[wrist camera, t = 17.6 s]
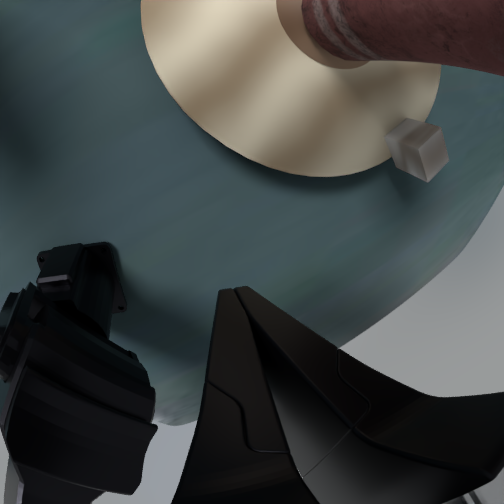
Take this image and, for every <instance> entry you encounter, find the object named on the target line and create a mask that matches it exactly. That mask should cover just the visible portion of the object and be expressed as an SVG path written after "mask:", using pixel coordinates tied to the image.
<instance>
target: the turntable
mask: <svg viewBox="0 0 504 504" xmlns="http://www.w3.org/2000/svg"><path fill="white" fill-rule="evenodd" d="M301 5H302V0H141V22H142V30H143V34H144V38H145V43H146V47H147V50H148V53H149V56H150V58H151V60H152V63H153V65H154V67H155V70H156V72H157V74H158V76H159V78H160V79H161V81H162V82H163V84H164V86H165V87H166V89H167V91H168V92H169V94H170V95H171V96H172V97H173V99H174V100H175V101H176V102H177V103H178V105H179V106H180V107H181V108H182V110H183V111H184V112H185V113H186V114H187V115H188V116H189V117H190V118H191V119H193V120H194V121H195V122H196V123H197V124H198V125H199V126H200V127H201V128H202V129H203V130H205V131H206V132H208V133H209V134H210V135H212V136H213V137H214V138H216V139H217V140H219V141H220V142H221V143H223V144H224V145H225V146H227V147H229V148H230V149H232V150H234V151H236V152H237V153H239V154H241V155H243V156H244V157H246V158H248V159H250V160H253V161H255V162H258V163H260V164H262V165H265V166H267V167H270V168H273V169H277V170H280V171H284V172H287V173H291V174H298V175H304V176H311V177H333V176H342V175H349V174H353V173H357V172H361V171H364V170H367V169H369V168H372V167H374V166H377V165H379V164H381V163H382V162H384V161H386V160H387V159H389V158H391V157H392V158H393V161H394V163H395V166H396V168H398V169H400V170H403V171H405V172H407V173H409V174H411V175H413V176H415V177H417V178H419V179H421V180H423V181H425V182H427V183H428V182H429V181H430V180H431V179H432V178H433V177H434V176H435V175H436V174H437V173H438V172H439V171H440V170H441V169H442V168H443V166H444V165H445V164H446V163H447V162H448V161H449V158H448V154H447V149H446V145H445V141H444V137H443V133H442V130H441V127H438V126H435V125H432V124H428V123H425V120H426V118H427V117H428V115H429V113H430V110H431V108H432V106H433V103H434V101H435V97H436V94H437V90H438V86H439V80H440V73H441V64H433V63H422V62H408V61H348V60H344V59H341V58H338V57H336V56H333V55H332V54H330V53H329V52H328V51H326V50H325V49H323V48H322V47H321V46H320V45H319V44H318V43H317V42H316V41H315V39H314V38H313V37H312V36H311V35H310V33H309V31H308V29H307V27H306V25H305V24H304V20H303V15H302V10H301Z"/></svg>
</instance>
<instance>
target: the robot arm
mask: <svg viewBox="0 0 504 504" xmlns="http://www.w3.org/2000/svg"><path fill="white" fill-rule="evenodd" d="M103 247H104V248H106V249H107V250H106V251H104V250H102V248H103ZM41 257H43V258H44V260H43V259H42V258H41ZM37 262H38V265H39V267H40V270H41V272H40V274H39V276H38V278H37V280H36V283H37V287H36V286H35V285H33V284H32V283H31V282H29V284H28V285H27V287H26V288H25V289H24V288H22V290H21V291H20V292H19V293H12V292H10V294H9V295H8V297H7V299H6V301H5V303H4V305H3V307H2V310H1V312H0V428H1V432H2V435H3V438H4V441H5V444H6V447H7V450H8V453H9V460H8V467H7V474H6V483H5V493H4V504H92V502H93V501H94V500H95V499H97V498H98V497H99V496H101V495H102V494H103V493H104V492H106V491H107V492H112V493H118V494H124V495H132V494H133V493H134V492H135V490H136V489H137V488H138V486H139V485H140V483H141V478H142V470H143V463H144V457H145V453H146V451H147V448H148V446H149V443H150V441H151V439H152V438H153V436H154V434H155V433H156V431H157V429H158V426H157V425H156V424H152V423H151V422H152V420H153V416H154V412H155V403H156V393H155V389H154V388H153V387H151V386H150V382H149V378H148V374H147V371H146V370H145V368H144V367H143V365H142V364H141V363H139V360H138V358H137V355H136V354H135V353H133V352H131V351H127V350H125V349H123V348H122V347H120V346H118V345H116V344H115V343H113V342H111V341H110V340H109V336H110V326H111V316H112V313H120V312H125V311H126V309H127V303H126V300H125V297H124V293H123V290H122V287H121V283H120V280H119V276H118V273H117V269H116V265H115V261H114V257H113V253H112V249H111V246H110V244H109V243H107V242H98V243H92V244H85V245H83V244H81V243H78V244H71V245H65V246H59V247H54V248H53V249H52V250H48V251H42V252H40V253H39V254H38V256H37ZM120 305H121V306H123V307H120ZM297 468H298V469H297ZM298 470H299V471H298ZM299 472H300V474H301V475H300V474H299ZM301 476H302V477H303V479H302V477H301ZM171 504H504V392H498V393H491V394H482V395H474V396H473V395H472V396H460V397H436V396H430V395H427V394H424V393H422V392H419V391H417V390H415V389H413V388H411V387H409V386H406V385H404V384H402V383H400V382H398V381H396V380H394V379H392V378H390V377H388V376H386V375H384V374H382V373H380V372H378V371H376V370H374V369H372V368H371V367H369V366H367V365H365V364H363V363H362V362H360V361H358V360H357V359H355V358H354V357H352V356H350V355H349V354H347V353H345V352H344V351H343V350H341V349H338V348H337V347H336V346H335V345H333V344H332V343H330V342H329V341H327V340H326V339H324V338H323V337H321V336H320V335H318V334H317V333H315V332H314V331H312V330H311V329H309V328H308V327H306V326H305V325H303V324H302V323H300V322H299V321H297V320H296V319H294V318H293V317H292V316H290V315H289V314H287V313H286V312H284V311H283V310H281V309H280V308H278V307H277V306H276V305H274V304H273V303H271V302H270V301H268V300H267V299H265V298H264V297H263V296H261V295H260V294H258V293H257V292H255V291H254V290H253V289H251V288H250V287H248V286H242V287H236V288H234V289H232V288H229V289H222V290H219V291H218V297H217V303H216V309H215V315H214V321H213V328H212V334H211V341H210V347H209V354H208V361H207V368H206V375H205V383H204V388H203V395H202V401H201V407H200V412H199V417H198V420H197V425H196V428H195V432H194V436H193V439H192V443H191V446H190V449H189V452H188V456H187V459H186V462H185V466H184V469H183V472H182V475H181V479H180V482H179V485H178V487H177V490H176V493H175V495H174V498H173V500H172V503H171Z"/></svg>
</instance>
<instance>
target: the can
mask: <svg viewBox="0 0 504 504" xmlns="http://www.w3.org/2000/svg"><path fill="white" fill-rule="evenodd" d="M301 10H302V15H303V20H304V24H305V25H306V27H307V29H308V31H309V33H310V35H311V36H312V37H313V38H314V39H315V41H316V42H317V43H318V44H319V45H320V46H321V47H322V48H323V49H325V50H326V51H328V52H329V53H330V54H332V55H333V56H336V57H338V58H341V59H344V60H348V61H408V62H422V63H433V64H442V65H449V66H456V67H462V68H468V69H473V70H478V71H483V72H488V73H492V74H496V75H500V76H504V0H302V5H301Z"/></svg>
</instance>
